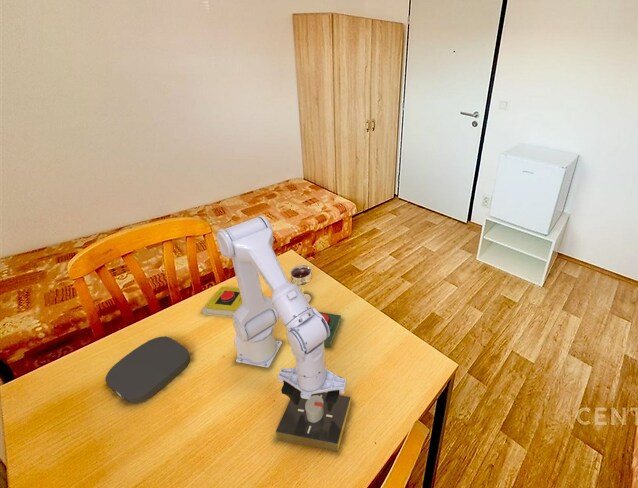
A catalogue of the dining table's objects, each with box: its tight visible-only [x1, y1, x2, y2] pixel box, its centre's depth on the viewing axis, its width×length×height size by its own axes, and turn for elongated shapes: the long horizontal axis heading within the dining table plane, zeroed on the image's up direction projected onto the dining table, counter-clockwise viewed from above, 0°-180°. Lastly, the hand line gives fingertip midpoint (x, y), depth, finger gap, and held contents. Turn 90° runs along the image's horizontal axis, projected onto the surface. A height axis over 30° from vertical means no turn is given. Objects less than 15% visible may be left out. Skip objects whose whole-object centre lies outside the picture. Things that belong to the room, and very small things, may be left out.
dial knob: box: [305, 395, 324, 423], centre depth 72 cm, size 4×4×4 cm
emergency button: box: [202, 286, 242, 318], centre depth 102 cm, size 9×4×15 cm
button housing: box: [318, 311, 342, 348], centre depth 96 cm, size 12×10×4 cm
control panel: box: [275, 392, 352, 452], centre depth 73 cm, size 14×10×3 cm
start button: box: [321, 314, 329, 324], centre depth 94 cm, size 4×4×2 cm
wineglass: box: [289, 264, 313, 303], centre depth 105 cm, size 7×7×12 cm
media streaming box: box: [105, 336, 191, 405], centre depth 81 cm, size 15×15×3 cm
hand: (314, 403), depth 71 cm, fingers open, 7 cm apart
